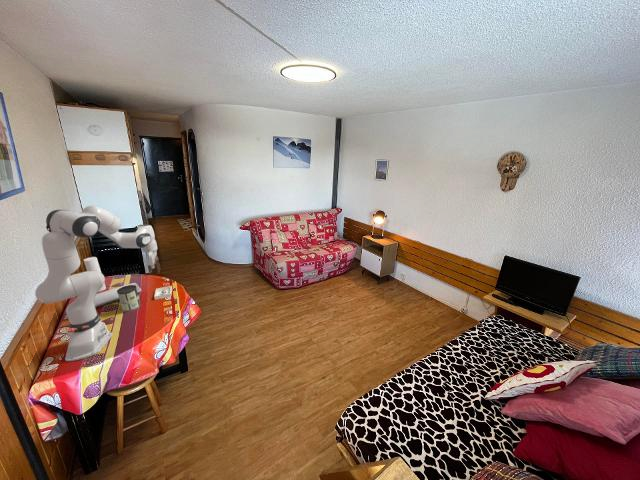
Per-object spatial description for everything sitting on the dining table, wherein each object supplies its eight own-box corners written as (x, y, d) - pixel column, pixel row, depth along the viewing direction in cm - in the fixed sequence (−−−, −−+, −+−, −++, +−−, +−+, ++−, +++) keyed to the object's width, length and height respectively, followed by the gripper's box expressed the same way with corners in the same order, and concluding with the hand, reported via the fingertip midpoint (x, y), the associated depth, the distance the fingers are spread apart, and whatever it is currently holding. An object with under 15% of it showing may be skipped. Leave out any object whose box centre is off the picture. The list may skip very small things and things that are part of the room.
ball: (166, 294, 186) (165, 290, 185) (161, 295, 184) (160, 291, 184) (166, 292, 188) (165, 288, 187) (161, 293, 187) (160, 289, 186)
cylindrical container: (99, 292, 189) (89, 261, 181) (91, 291, 191) (81, 260, 183) (108, 287, 196) (99, 257, 188) (100, 286, 197) (91, 256, 189)
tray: (142, 294, 188) (141, 289, 187) (86, 312, 166) (84, 308, 165) (136, 286, 199) (135, 282, 198) (82, 302, 177) (81, 298, 176)
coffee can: (130, 302, 177) (125, 284, 172) (144, 303, 176) (140, 285, 171) (118, 311, 167) (112, 292, 163) (133, 312, 166) (127, 293, 162)
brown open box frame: (159, 272, 178) (156, 259, 175) (149, 274, 176) (146, 260, 172) (160, 269, 183) (157, 256, 180) (150, 270, 181) (147, 257, 178)
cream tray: (171, 297, 184) (170, 293, 182) (155, 300, 179) (154, 296, 178) (172, 289, 194) (171, 285, 193) (156, 292, 190) (156, 288, 189)
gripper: (153, 251, 166) (157, 271, 171) (156, 242, 184) (160, 260, 188) (141, 253, 164) (146, 273, 168) (146, 243, 181) (150, 261, 185)
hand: (153, 266), depth 178 cm, fingers closed on brown open box frame, 5 cm apart
